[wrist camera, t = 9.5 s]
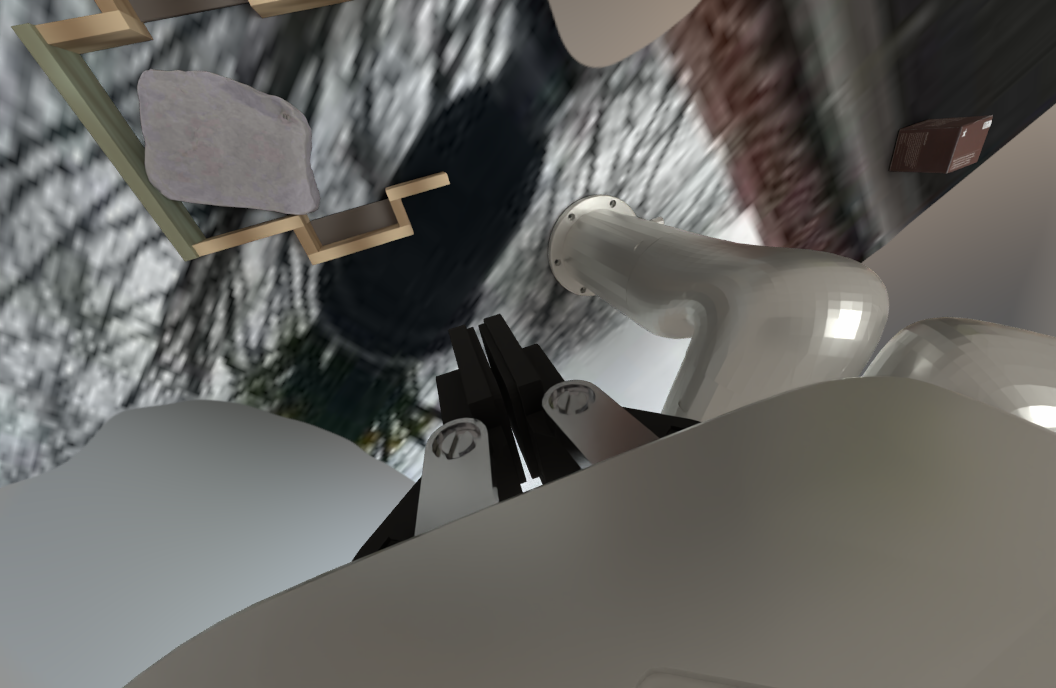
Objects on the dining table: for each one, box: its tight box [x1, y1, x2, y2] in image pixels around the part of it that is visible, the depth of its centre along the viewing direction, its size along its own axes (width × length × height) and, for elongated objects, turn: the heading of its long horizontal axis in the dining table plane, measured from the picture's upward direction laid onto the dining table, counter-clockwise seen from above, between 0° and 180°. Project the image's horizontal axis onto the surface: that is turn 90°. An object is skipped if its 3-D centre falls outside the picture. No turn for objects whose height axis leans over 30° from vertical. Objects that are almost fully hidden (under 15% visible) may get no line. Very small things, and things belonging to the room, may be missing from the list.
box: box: [890, 115, 993, 173], centre depth 54 cm, size 6×6×7 cm
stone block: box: [137, 69, 320, 215], centre depth 32 cm, size 12×5×10 cm
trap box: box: [11, 0, 450, 265], centre depth 31 cm, size 24×23×4 cm
